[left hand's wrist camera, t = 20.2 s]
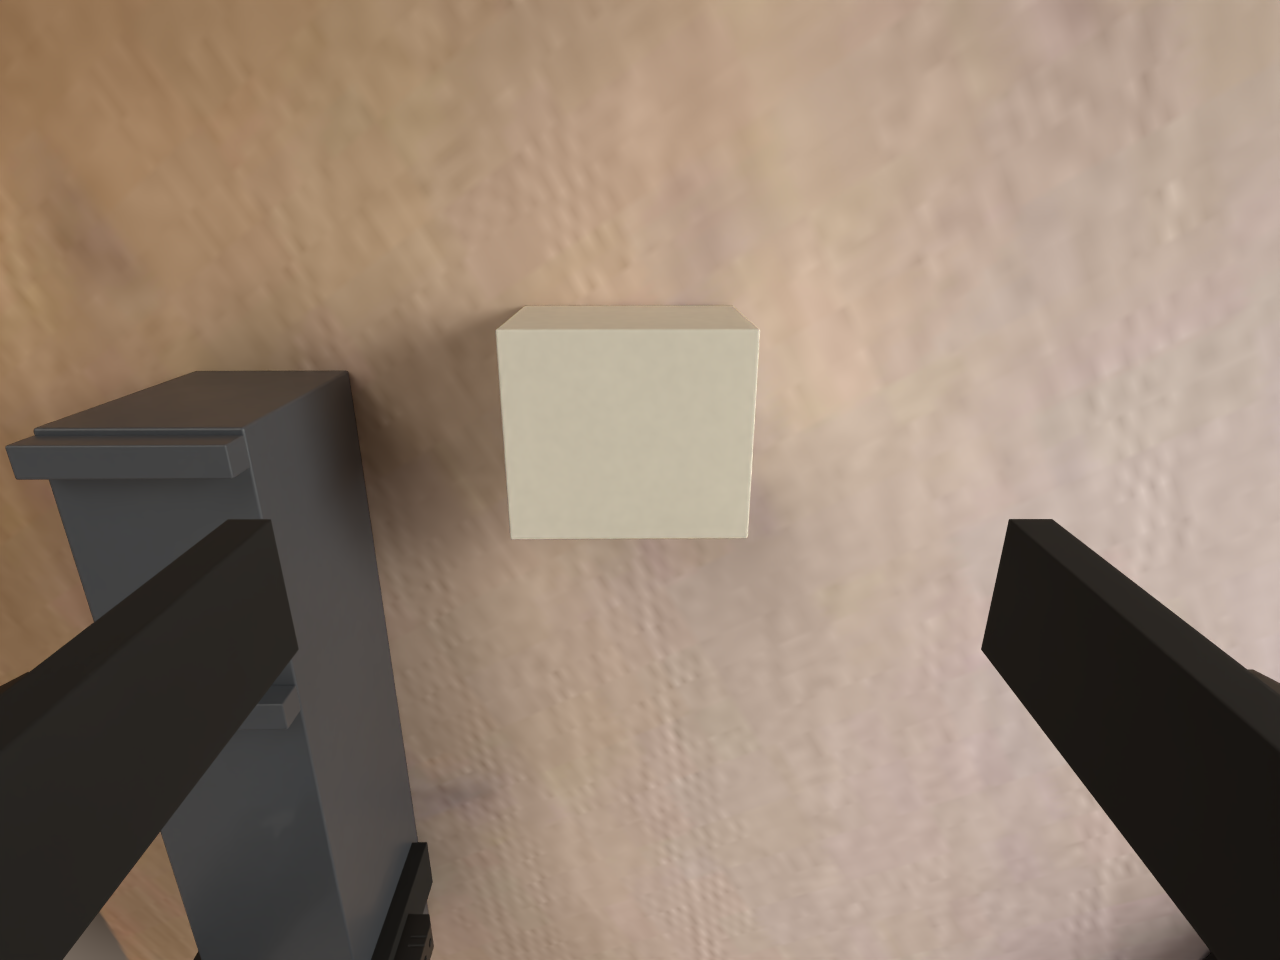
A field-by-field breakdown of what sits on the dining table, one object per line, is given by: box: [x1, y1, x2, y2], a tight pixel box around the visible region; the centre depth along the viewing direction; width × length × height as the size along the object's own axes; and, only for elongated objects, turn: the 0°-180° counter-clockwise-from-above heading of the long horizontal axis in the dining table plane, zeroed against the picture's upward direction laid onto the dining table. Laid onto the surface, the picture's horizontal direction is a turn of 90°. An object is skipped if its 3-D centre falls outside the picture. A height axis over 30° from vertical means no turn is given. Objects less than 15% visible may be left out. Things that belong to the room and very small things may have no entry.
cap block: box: [495, 306, 760, 540], centre depth 25 cm, size 7×8×6 cm
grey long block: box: [5, 371, 429, 960], centre depth 28 cm, size 30×6×9 cm, turn 0°
